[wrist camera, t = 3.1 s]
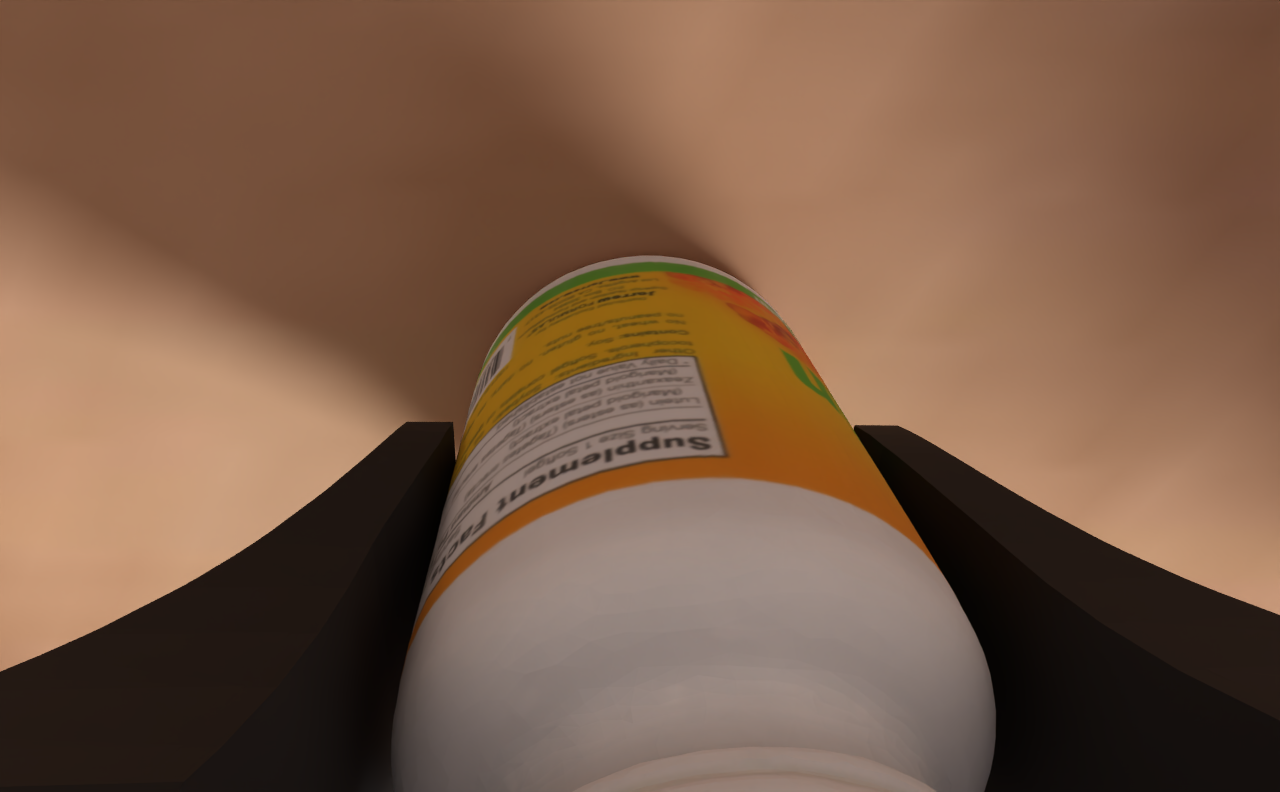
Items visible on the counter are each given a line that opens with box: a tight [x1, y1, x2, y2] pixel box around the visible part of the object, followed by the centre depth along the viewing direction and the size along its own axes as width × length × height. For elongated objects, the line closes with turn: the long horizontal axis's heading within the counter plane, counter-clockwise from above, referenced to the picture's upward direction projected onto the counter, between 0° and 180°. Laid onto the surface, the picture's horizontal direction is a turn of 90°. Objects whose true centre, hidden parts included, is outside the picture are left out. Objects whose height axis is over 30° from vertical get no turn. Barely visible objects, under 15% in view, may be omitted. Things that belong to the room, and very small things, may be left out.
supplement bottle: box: [391, 255, 996, 792], centre depth 9 cm, size 5×5×10 cm
